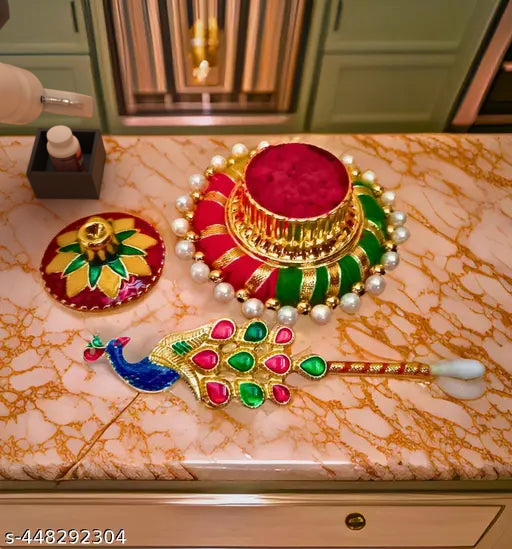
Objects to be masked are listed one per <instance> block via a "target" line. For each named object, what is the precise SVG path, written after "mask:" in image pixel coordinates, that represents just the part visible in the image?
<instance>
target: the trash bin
mask: <svg viewBox="0 0 512 549" xmlns="http://www.w3.org/2000/svg"><path fill="white" fill-rule="evenodd" d="M51 128H52V127H38V128H37V130H36V133H35V138H34V141H33V145H32V150H31V154H30V156H29V160H28V164H27V169H26V172H25V176H26V178H27V181H28V182H29V185H30V187H31V190H32V192H33V194H34V197H35V198H36V199H38V200H39V199H40V200H41V199H42V200H100V195H101V189H102V184H103V178H104V177H103V176H104V172H105V171H104V170H105V164H106V159H107V152H106V148H105V147H106V146H105V143H104V140H103V135H102V132H101V129H100V128H69V129H70V130H71V132H72V135H73V136H75V137H76V138H77V140H78V142H79V145H80V148H81V152H82V155H83V159H84V162H85V165H86V169H87V172H55V169H54V167H53V164H52V161H51V158H50V156H49V153H48V150H47V143H48V139H47V132H48V131H49V130H50V129H51Z"/></svg>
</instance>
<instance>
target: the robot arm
mask: <svg viewBox="0 0 512 549" xmlns="http://www.w3.org/2000/svg"><path fill="white" fill-rule="evenodd" d="M10 15H11V14H10V5H9V0H0V31H1V30H2V29H3V27H5V25H6V24H7V23H8V21H9V20H10V18H11V16H10ZM41 113H48V114H55V115H56V114H57V115H63V116H72V117H79V118H86V119H87V118H88V119H89V118H92V117H93V115H94V98H93V96H91V95H87V94H84V93H83V94H82V93H78V92H75V91H74V92H73V91H67V90H61V89H53V88H52V89H51V88H44V86H43V84H42V83H41V81H40V80H39V78H38V77H37V76H36V75H35V74H34V73H32V72H31V71H29V70H27V69H25V68H23V67H18V66H16V65H13V64H8V63H3V62H1V61H0V123H2V124H8V125H9V124H10V125H27V124H30V123H32V122H34V121H35V120H36V119H37V118H38V117H39V116H40V115H41Z"/></svg>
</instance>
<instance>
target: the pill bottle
mask: <svg viewBox="0 0 512 549" xmlns="http://www.w3.org/2000/svg"><path fill="white" fill-rule="evenodd" d="M50 128H51V129H50V130H49V131H48V132H47V139H48V143H47V150H48V153H49V156H50V158H51V161H52V164H53V167H54V169H55V172H87V169H86V165H85V162H84V159H83V155H82V152H81V148H80V145H79V142H78V140H77V138H76V137H75V136H73V135H72V132H71V130H70V129H71V128H70V127H68V126H66V125H55V126H53V127H50Z"/></svg>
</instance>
